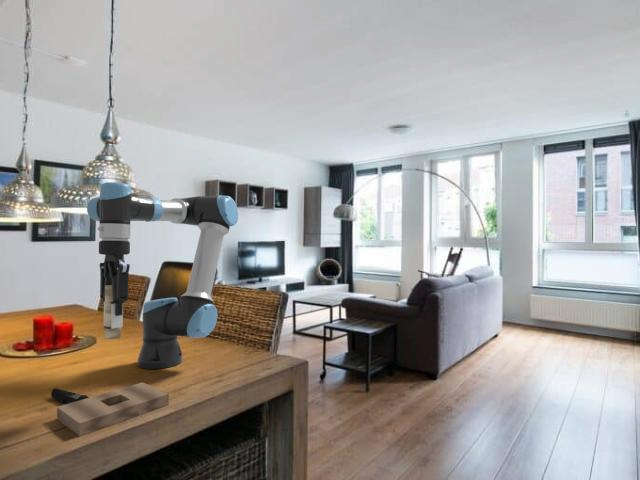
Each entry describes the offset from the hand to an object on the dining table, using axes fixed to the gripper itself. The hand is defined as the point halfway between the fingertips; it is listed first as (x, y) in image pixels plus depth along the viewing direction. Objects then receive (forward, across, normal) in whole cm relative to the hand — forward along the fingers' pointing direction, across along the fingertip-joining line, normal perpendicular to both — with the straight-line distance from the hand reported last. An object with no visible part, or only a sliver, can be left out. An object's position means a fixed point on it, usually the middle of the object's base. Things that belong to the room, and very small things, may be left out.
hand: (112, 326), depth 108 cm
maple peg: (+3, 0, 0) cm, 3 cm away
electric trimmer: (+22, -11, -6) cm, 26 cm away
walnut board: (+21, +4, -1) cm, 22 cm away
